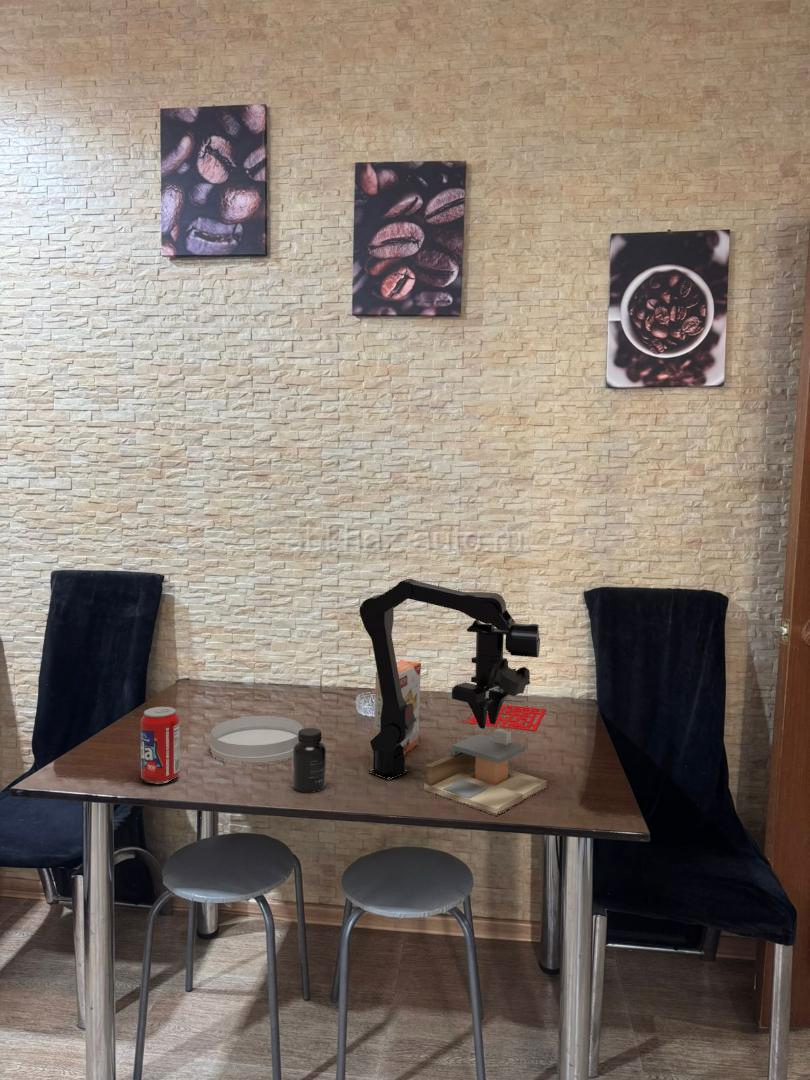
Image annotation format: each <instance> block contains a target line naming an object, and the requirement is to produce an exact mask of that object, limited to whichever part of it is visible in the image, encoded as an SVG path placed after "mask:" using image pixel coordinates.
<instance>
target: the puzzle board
mask: <svg viewBox="0 0 810 1080" xmlns="http://www.w3.org/2000/svg"><path fill="white" fill-rule="evenodd" d="M475 765H476V757H475V756H472V755H469V754H465V753H460V754H457V755H455V756H454V755H451V754H449V755H447V756H445V757H444V756H443V758H440V759H438V760H435V761H433V762H431V763H429V764H427V765H425V782H424V784H423V785H424V788H423V789H426V790H429V791H431V792H434V793H437V794H439V795H442V796H445V797H448V798H450V799H453V800H456V801H459V802H462V803H466V804H469V805H473V806H476V807H479V808H482V809H485V810H487V811H490V812H493V813H496V814H497V813H498V812H500V811H502V810H504V809H505V808H507V807H509V806H511V805H513V804H514V803H516V802H518V801H519V800H521V799H523V798H525V797H527V796H528V795H530V794H532V793H533V792H535V791H537V790H539V789H540V788H542V787H544V786H546V785H548V783H547V782H548V781H547V780H545V779H541V778H539V777H535V776H532V775H529V774H526V773H522V772H519V771H516V770H512V769H510V768H508V780H506V781H504V782H502V783H500V784H498V785H493V784H490V783H487V782H484V781H481V780H478V779H475Z"/></svg>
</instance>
